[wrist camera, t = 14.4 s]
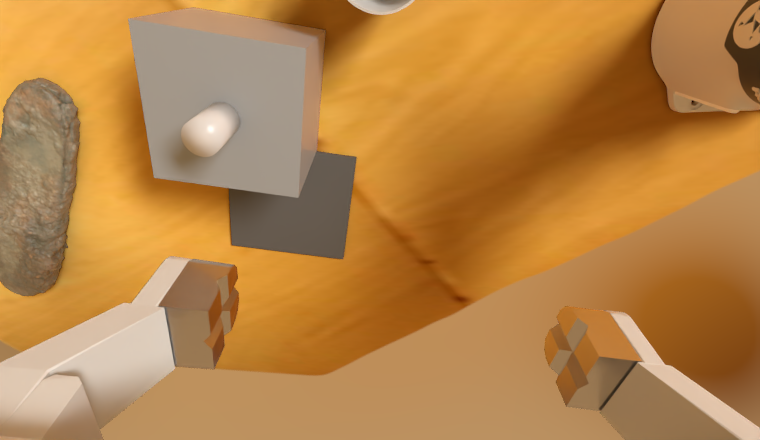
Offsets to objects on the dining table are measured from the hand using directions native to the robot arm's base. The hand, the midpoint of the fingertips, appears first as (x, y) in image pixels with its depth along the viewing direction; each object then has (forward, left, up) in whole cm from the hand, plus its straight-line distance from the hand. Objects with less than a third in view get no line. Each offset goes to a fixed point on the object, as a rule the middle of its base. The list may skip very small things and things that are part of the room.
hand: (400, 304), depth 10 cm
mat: (+10, +21, -39) cm, 45 cm away
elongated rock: (+43, +25, -40) cm, 64 cm away
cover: (+14, +6, -39) cm, 42 cm away
